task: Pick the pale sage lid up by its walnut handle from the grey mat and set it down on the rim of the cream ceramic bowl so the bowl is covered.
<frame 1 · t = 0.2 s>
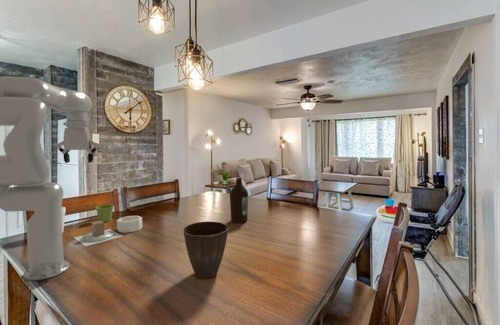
hand: (79, 162, 120), 36 cm above the table, tool pointing down, fingers open, 9 cm apart
bowl: (130, 230, 134), on the table
olive oil: (239, 221, 149), on the table
lid: (98, 236, 123), point 1 cm above the table, touching mat
foam cup: (55, 235, 128), on the table
mat: (98, 238, 123), on the table
plant pot: (206, 274, 88), on the table
plant pot 2: (105, 221, 150), on the table
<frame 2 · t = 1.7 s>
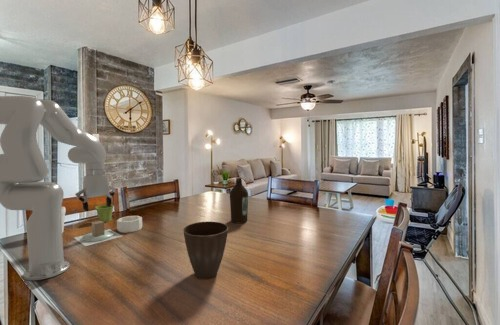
hand: (97, 208, 122), 14 cm above the table, tool pointing down, fingers open, 9 cm apart
nothing on the table moved.
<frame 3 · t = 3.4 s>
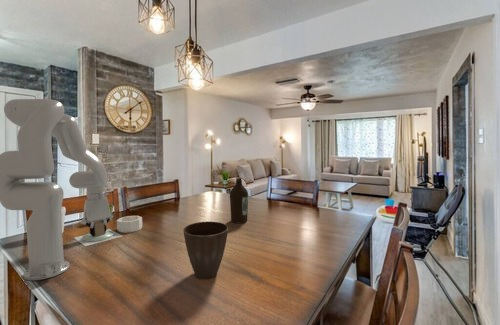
hand: (98, 233, 123), 2 cm above the table, tool pointing down, fingers closed on lid, 4 cm apart
lid: (98, 236, 123), point 1 cm above the table, touching gripper, mat
everything else where it was.
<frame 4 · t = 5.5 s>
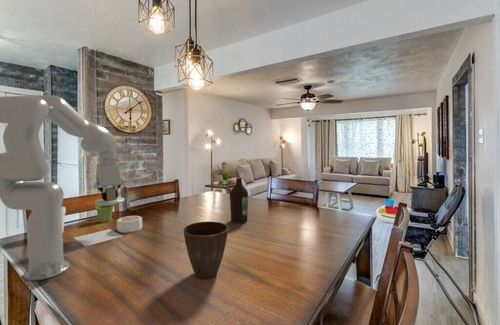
hand: (109, 199, 126), 18 cm above the table, tool pointing down, fingers closed on lid, 4 cm apart
lid: (110, 202, 126), point 16 cm above the table, touching gripper
everything else where it was.
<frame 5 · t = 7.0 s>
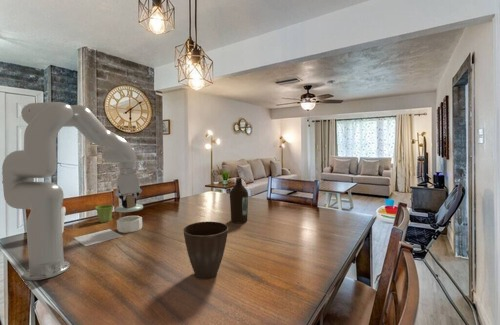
hand: (129, 206, 133), 13 cm above the table, tool pointing down, fingers closed on lid, 4 cm apart
lid: (129, 208, 134), point 11 cm above the table, touching gripper
everything else where it was.
when the fingers open (9 cm above the table, at t = 7.9 s): lid drops 1 cm, resting on bowl.
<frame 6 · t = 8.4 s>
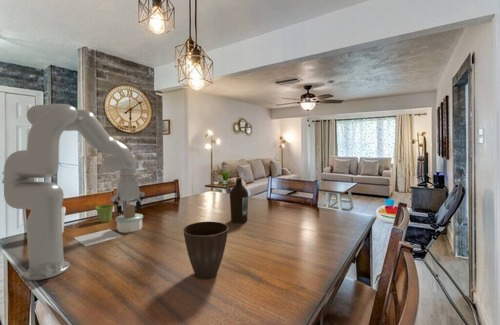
hand: (129, 211, 133), 10 cm above the table, tool pointing down, fingers open, 9 cm apart
lid: (129, 218, 134), point 6 cm above the table, touching bowl
everything else where it was.
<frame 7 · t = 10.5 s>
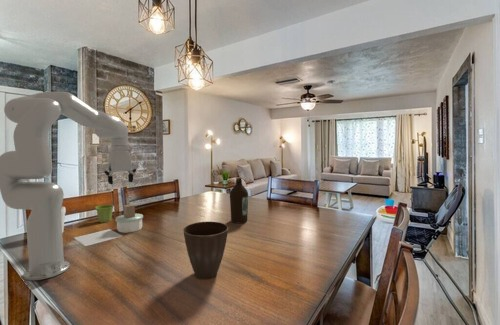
hand: (121, 182, 131), 25 cm above the table, tool pointing down, fingers open, 9 cm apart
nothing on the table moved.
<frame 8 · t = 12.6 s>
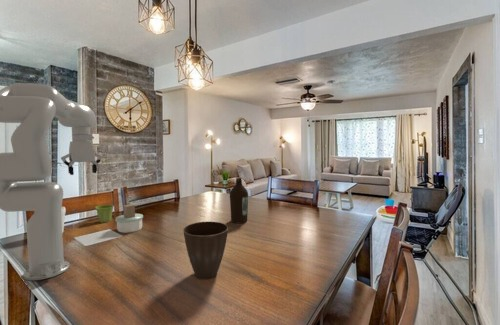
hand: (83, 173, 126), 30 cm above the table, tool pointing down, fingers open, 9 cm apart
nothing on the table moved.
at the end: lid 0.1 cm off-centre on the bowl, point 6.0 cm above the bowl's base; lid tilted 0°; the gripper is holding nothing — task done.
